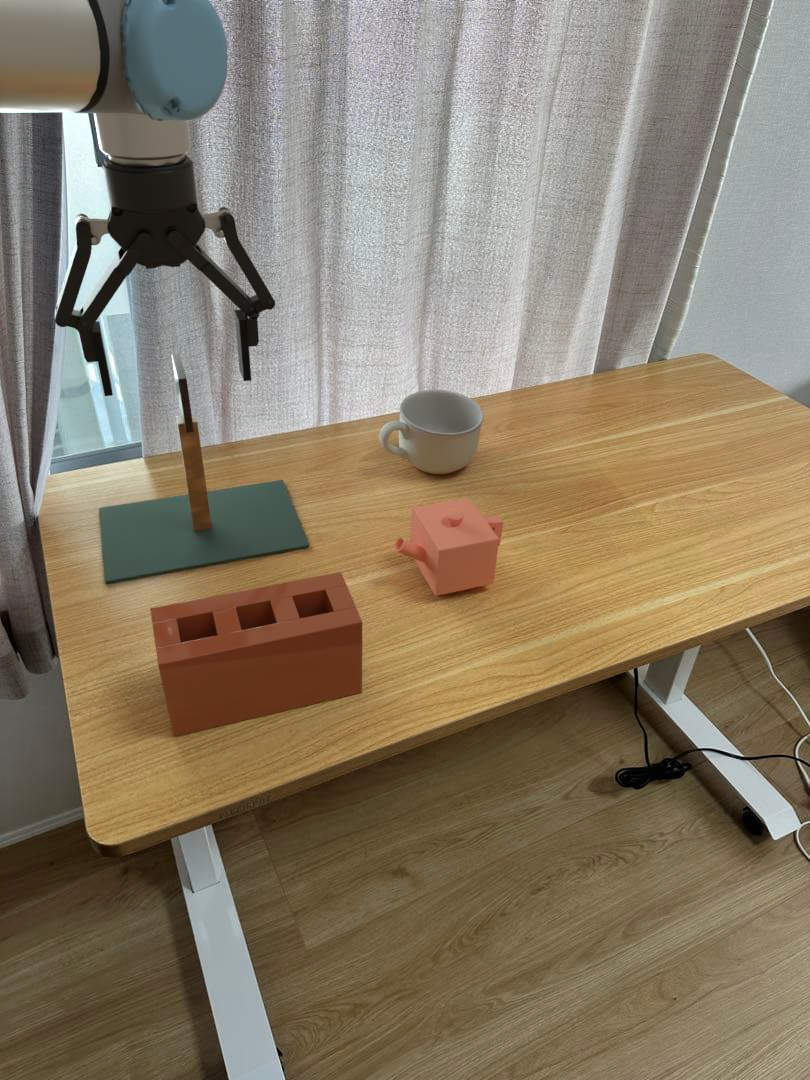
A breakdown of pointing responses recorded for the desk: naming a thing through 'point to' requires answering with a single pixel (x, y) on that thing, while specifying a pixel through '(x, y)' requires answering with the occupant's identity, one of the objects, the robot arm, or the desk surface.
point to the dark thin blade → (191, 452)
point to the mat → (172, 544)
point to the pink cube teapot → (453, 545)
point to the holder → (258, 651)
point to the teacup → (436, 431)
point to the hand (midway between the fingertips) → (178, 382)
